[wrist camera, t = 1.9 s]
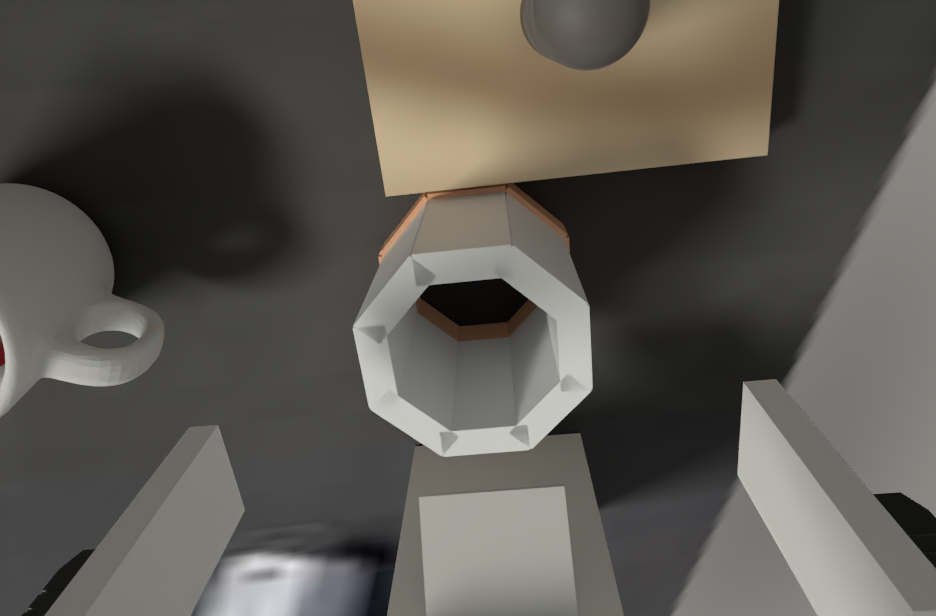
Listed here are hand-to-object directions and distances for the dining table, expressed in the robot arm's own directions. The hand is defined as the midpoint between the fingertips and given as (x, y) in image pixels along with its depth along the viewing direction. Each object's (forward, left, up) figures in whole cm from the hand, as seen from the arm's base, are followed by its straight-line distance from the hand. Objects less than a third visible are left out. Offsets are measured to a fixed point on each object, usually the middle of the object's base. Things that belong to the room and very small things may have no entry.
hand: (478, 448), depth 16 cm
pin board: (-15, +4, -12) cm, 20 cm away
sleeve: (0, 0, -12) cm, 12 cm away
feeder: (+9, 0, -12) cm, 15 cm away
